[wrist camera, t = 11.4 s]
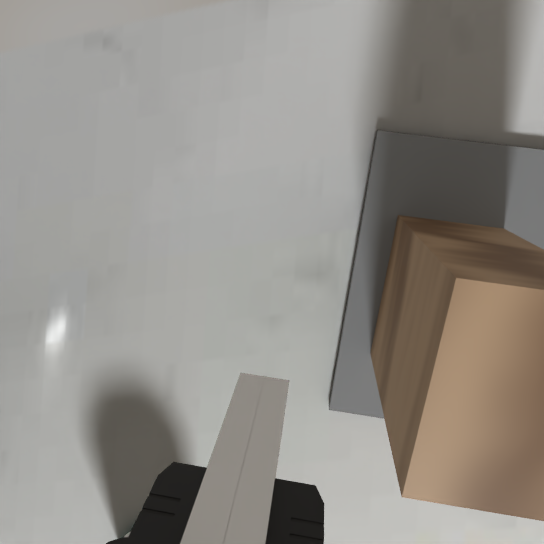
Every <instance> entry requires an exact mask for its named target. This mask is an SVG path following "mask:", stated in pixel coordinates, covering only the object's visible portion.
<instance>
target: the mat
mask: <svg viewBox="0 0 544 544" xmlns="http://www.w3.org/2000/svg"><path fill="white" fill-rule="evenodd" d="M398 215H402V216H410V217H418V218H426V219H433V220H441V221H449V222H457V223H464V224H472V225H480V226H487V227H495V228H503V229H506V230H508V231H509V232H511V233H513V234H515V235H517V236H519V237H521V238H523V239H525V240H526V241H528V242H530V243H532V244H534V245H536V246H538V247H540V248H542V249H544V150H541V149H532V148H524V147H515V146H507V145H498V144H490V143H481V142H473V141H464V140H456V139H447V138H439V137H430V136H422V135H413V134H405V133H396V132H388V131H379V130H377V133H376V139H375V145H374V150H373V156H372V162H371V167H370V173H369V179H368V185H367V190H366V196H365V202H364V207H363V213H362V219H361V225H360V230H359V236H358V242H357V247H356V253H355V259H354V265H353V270H352V276H351V282H350V287H349V293H348V299H347V305H346V310H345V316H344V322H343V328H342V333H341V339H340V345H339V350H338V356H337V362H336V368H335V373H334V379H333V385H332V390H331V396H330V402H329V410H333V411H340V412H346V413H352V414H359V415H365V416H371V417H378V418H384V414H383V409H382V405H381V400H380V396H379V391H378V387H377V382H376V378H375V373H374V368H373V364H372V359H371V355H370V353H371V348H372V343H373V338H374V333H375V328H376V323H377V318H378V313H379V308H380V303H381V298H382V293H383V288H384V283H385V278H386V273H387V268H388V262H389V257H390V252H391V247H392V242H393V237H394V232H395V227H396V222H397V217H398ZM384 419H385V418H384Z"/></svg>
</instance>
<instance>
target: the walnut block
mask: <svg viewBox="0 0 544 544" xmlns="http://www.w3.org/2000/svg"><path fill="white" fill-rule="evenodd" d="M370 355H371V359H372V364H373V368H374V373H375V378H376V382H377V387H378V391H379V396H380V400H381V405H382V409H383V414H384V418H385V423H386V428H387V432H388V437H389V441H390V446H391V450H392V455H393V459H394V464H395V468H396V473H397V477H398V482H399V487H400V491H401V496H402V497H405V498H411V499H416V500H422V501H428V502H434V503H440V504H446V505H452V506H458V507H464V508H470V509H476V510H482V511H487V512H493V513H499V514H505V515H511V516H517V517H523V518H529V519H535V520H541V521H544V249H542V248H540V247H538V246H536V245H534V244H532V243H530V242H528V241H526V240H525V239H523V238H521V237H519V236H517V235H515V234H513V233H511V232H509V231H508V230H506V229H503V228H495V227H487V226H480V225H472V224H464V223H457V222H449V221H441V220H433V219H426V218H418V217H410V216H402V215H398V217H397V222H396V227H395V232H394V237H393V242H392V247H391V252H390V257H389V262H388V268H387V273H386V278H385V283H384V288H383V293H382V298H381V303H380V308H379V313H378V318H377V323H376V328H375V333H374V338H373V343H372V348H371V353H370Z"/></svg>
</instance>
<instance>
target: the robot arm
mask: <svg viewBox="0 0 544 544" xmlns="http://www.w3.org/2000/svg"><path fill="white" fill-rule="evenodd" d="M288 386H289V380H283V379H277V378H270V377H264V376H258V375H252V374H245V373H240V376H239V379H238V382H237V385H236V387H235V390H234V393H233V396H232V399H231V402H230V404H229V407H228V410H227V413H226V416H225V418H224V421H223V424H222V427H221V430H220V433H219V435H218V438H217V441H216V444H215V447H214V449H213V452H212V455H211V458H210V461H209V464H208V466H207V468H205V467H199V466H194V465H188V464H182V463H177V462H173V463H172V464H171V465H170V466H168V467H167V468H166V469H165V470H164V471H163V472H162V473H160V474H159V475H158V477H157V479H156V481H155V483H154V485H153V487H152V489H151V491H150V494H149V497H147V499H146V501H145V503H144V506H143V508H142V511H141V512H140V514H139V516H138V518H137V520H136V522H135V524H134V526H133V528H132V530H131V532H130V534H129V536H128V537H123V538H119V539H116V540H113V541H110V542H108V543H106V544H323V542H324V503H323V500H322V498H321V496H320V494H319V492H318V490H317V488H316V486H315V485H309V484H304V483H298V482H292V481H287V480H281V479H275V477H276V470H277V463H278V456H279V449H280V442H281V435H282V428H283V421H284V414H285V407H286V400H287V393H288Z"/></svg>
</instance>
